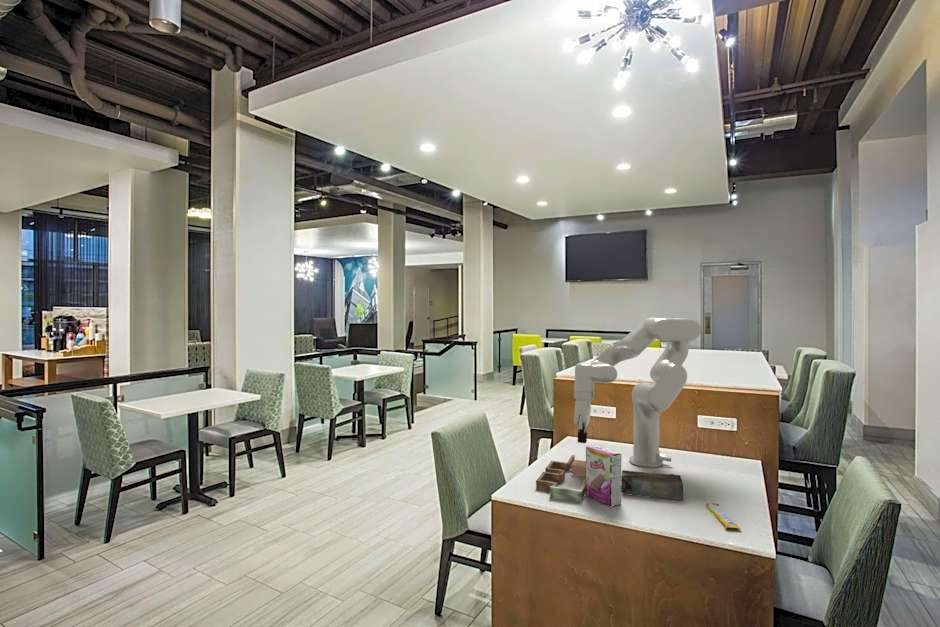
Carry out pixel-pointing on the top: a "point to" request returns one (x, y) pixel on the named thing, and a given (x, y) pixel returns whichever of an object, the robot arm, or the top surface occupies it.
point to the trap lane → (554, 477)
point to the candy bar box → (603, 474)
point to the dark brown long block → (652, 485)
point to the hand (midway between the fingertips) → (582, 442)
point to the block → (578, 468)
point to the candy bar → (722, 516)
